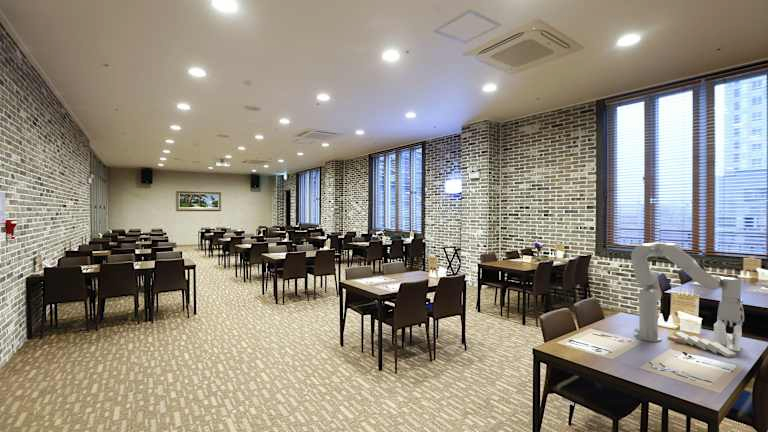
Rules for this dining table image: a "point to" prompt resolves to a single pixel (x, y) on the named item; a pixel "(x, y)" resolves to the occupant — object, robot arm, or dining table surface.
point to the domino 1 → (677, 339)
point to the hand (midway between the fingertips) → (729, 333)
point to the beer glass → (734, 339)
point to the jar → (720, 333)
